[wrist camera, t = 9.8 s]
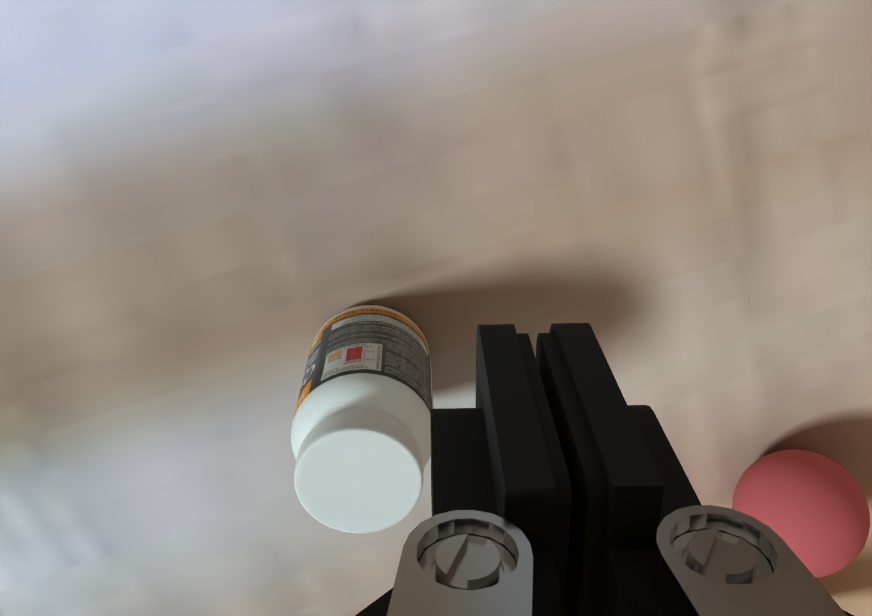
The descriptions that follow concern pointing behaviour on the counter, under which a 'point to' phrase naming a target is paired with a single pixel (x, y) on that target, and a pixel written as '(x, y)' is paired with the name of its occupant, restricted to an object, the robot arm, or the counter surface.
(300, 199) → the counter surface
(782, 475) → the ball
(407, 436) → the pill bottle
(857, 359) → the counter surface
